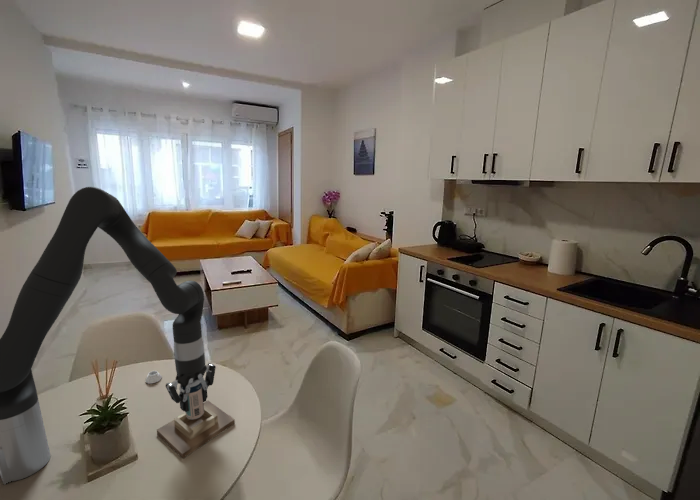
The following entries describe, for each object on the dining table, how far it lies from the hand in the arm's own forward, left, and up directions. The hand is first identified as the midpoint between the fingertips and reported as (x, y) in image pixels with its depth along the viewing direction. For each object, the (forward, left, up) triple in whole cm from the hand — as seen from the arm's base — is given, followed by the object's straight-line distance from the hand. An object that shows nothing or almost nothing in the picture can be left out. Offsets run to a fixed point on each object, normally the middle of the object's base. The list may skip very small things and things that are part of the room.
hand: (194, 405), depth 98 cm
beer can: (0, 0, -4) cm, 4 cm away
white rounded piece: (+3, +34, -8) cm, 35 cm away
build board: (0, 0, -8) cm, 8 cm away
